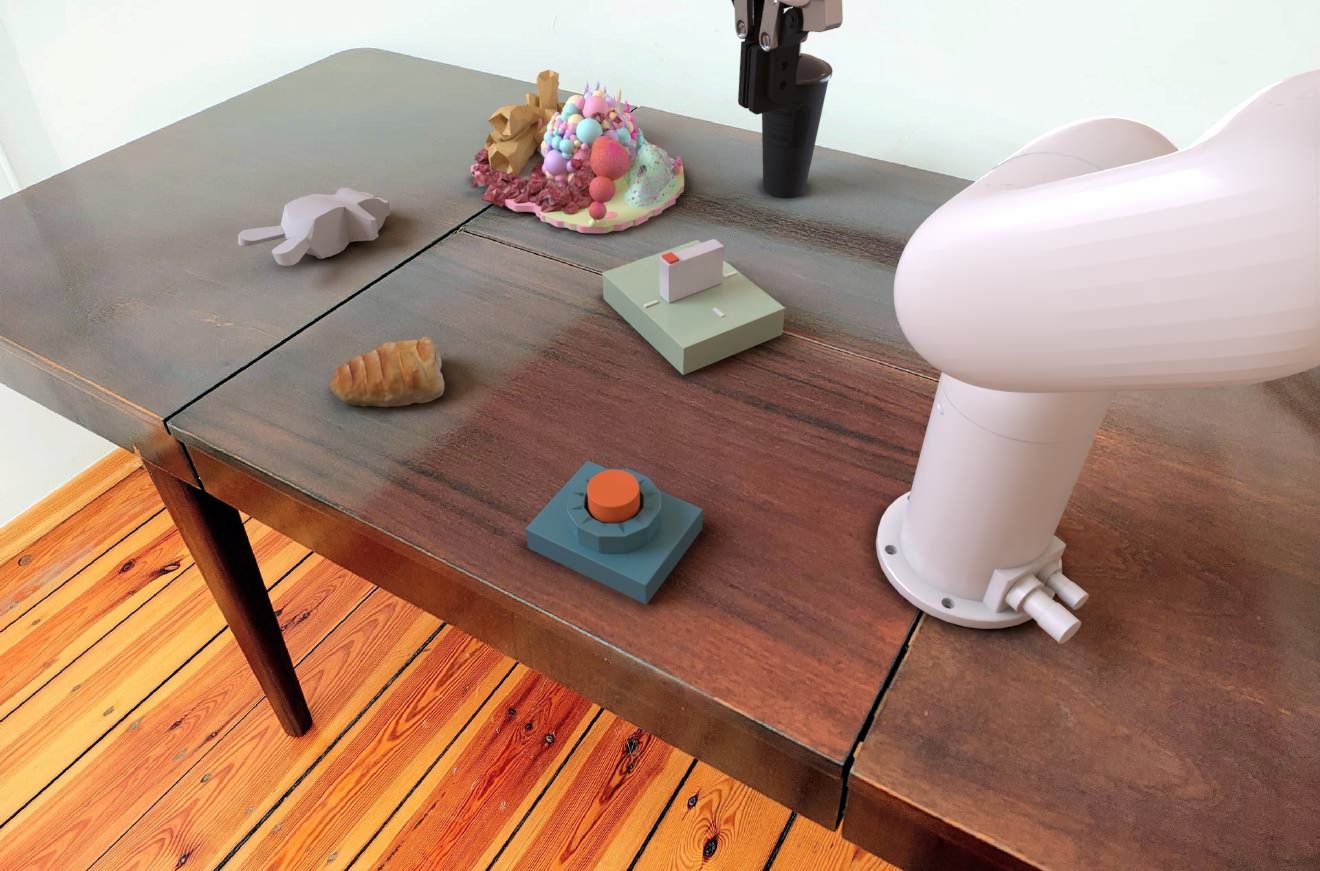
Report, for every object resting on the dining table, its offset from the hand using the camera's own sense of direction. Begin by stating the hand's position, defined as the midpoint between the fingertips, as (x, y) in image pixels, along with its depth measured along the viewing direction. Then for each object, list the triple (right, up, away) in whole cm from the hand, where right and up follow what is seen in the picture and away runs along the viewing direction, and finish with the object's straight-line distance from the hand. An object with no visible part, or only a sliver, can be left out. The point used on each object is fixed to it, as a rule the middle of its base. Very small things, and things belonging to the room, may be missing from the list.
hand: (765, 104), depth 58 cm
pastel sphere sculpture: (-16, +9, +50) cm, 54 cm away
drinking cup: (+8, +7, +48) cm, 49 cm away
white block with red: (-4, -7, +28) cm, 29 cm away
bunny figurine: (-42, -1, +39) cm, 57 cm away
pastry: (-29, -17, +22) cm, 40 cm away
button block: (-10, -28, +9) cm, 31 cm away
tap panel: (-4, -9, +30) cm, 31 cm away
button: (-10, -26, +7) cm, 28 cm away
